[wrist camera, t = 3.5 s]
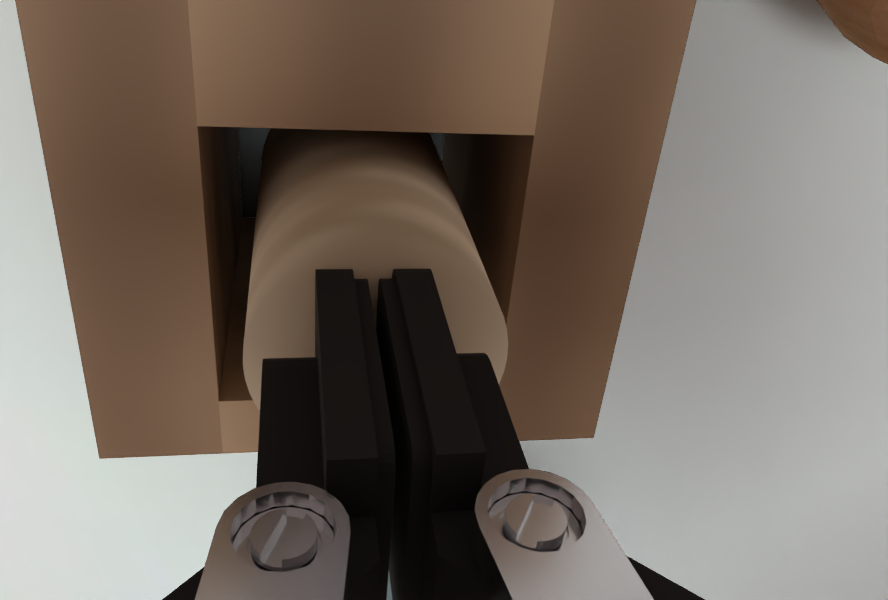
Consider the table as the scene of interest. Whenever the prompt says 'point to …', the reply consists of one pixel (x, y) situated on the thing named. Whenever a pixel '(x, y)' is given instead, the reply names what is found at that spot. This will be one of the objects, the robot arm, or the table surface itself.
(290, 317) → the peg birch
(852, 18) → the onion
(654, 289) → the table surface
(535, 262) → the socket block
